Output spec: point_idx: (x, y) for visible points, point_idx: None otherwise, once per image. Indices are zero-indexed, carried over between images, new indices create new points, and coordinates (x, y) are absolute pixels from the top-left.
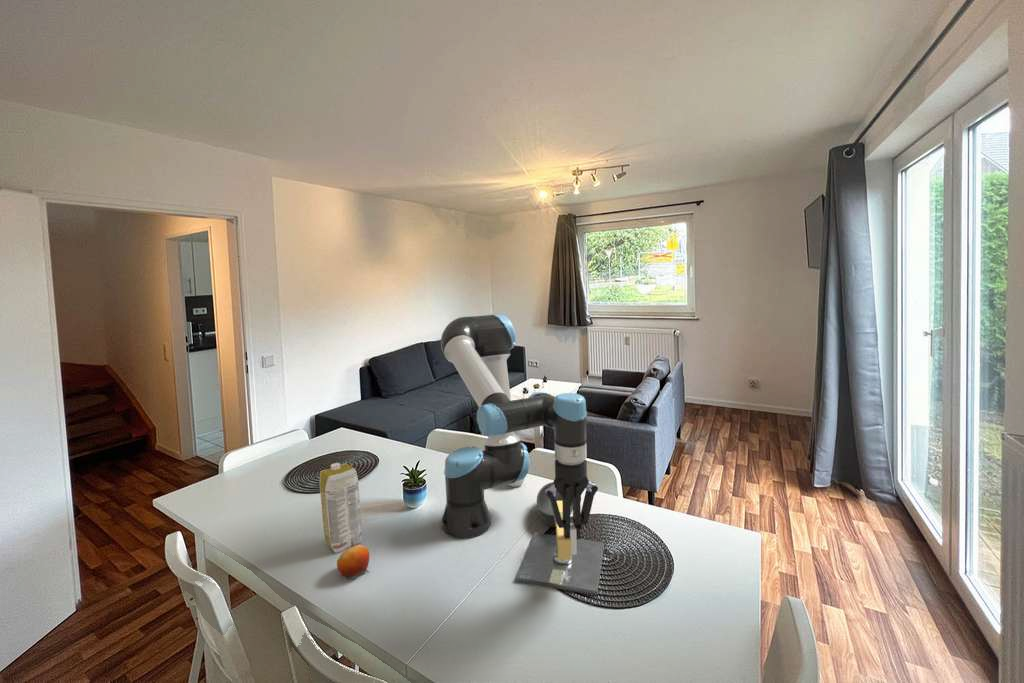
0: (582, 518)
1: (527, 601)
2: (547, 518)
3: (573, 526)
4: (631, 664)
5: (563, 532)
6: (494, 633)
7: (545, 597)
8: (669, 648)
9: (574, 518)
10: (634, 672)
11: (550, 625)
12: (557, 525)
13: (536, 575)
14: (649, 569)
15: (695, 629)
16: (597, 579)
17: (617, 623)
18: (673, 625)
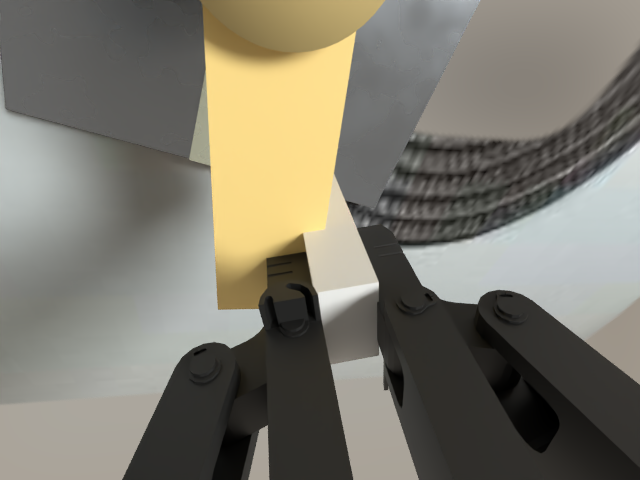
0: (491, 376)
1: (111, 217)
2: None
3: (366, 324)
4: (369, 364)
5: (270, 223)
6: (35, 324)
7: (180, 201)
8: None
9: (404, 402)
10: (368, 375)
11: (203, 298)
12: (215, 97)
13: (120, 105)
14: (632, 66)
15: (545, 297)
16: (399, 148)
17: None
18: (510, 290)
